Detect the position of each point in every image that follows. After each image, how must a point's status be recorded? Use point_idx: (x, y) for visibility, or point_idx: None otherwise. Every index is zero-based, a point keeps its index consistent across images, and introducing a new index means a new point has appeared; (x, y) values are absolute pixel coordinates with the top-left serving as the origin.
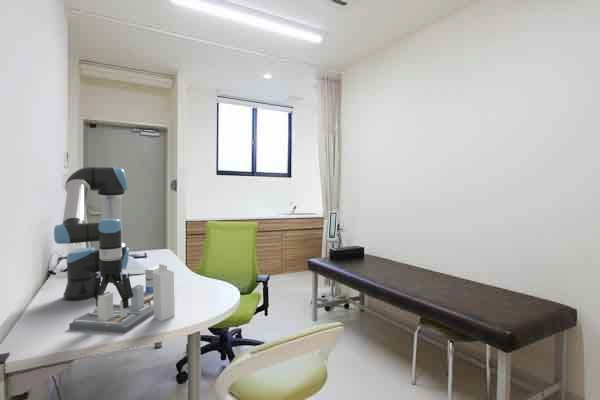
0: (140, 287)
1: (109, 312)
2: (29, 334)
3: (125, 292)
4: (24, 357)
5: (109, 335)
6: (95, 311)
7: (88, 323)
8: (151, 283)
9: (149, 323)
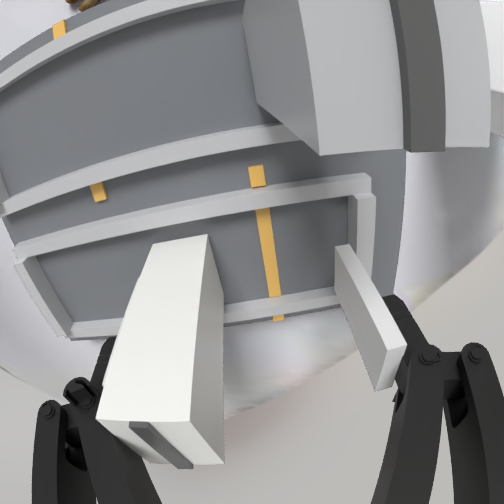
0: (472, 26)
1: (214, 299)
2: (34, 365)
3: (454, 442)
4: None
5: (320, 316)
6: (10, 211)
7: None
8: None
9: (435, 161)
